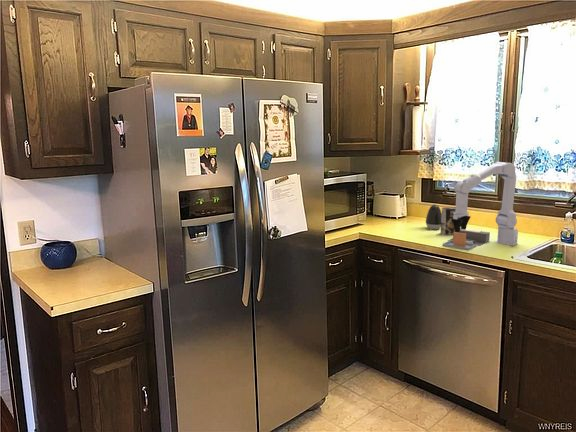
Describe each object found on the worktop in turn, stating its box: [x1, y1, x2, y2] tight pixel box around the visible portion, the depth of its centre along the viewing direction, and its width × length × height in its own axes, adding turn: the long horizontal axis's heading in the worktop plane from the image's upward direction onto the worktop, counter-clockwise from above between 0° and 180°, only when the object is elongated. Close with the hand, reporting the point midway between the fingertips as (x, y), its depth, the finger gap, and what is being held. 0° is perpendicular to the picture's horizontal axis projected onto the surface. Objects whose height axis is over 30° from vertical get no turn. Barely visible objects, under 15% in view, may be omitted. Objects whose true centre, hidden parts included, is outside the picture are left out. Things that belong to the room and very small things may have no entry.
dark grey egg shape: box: [425, 204, 442, 230], centre depth 287 cm, size 10×10×15 cm
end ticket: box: [452, 232, 466, 247], centre depth 243 cm, size 6×2×7 cm, turn 47°
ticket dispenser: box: [447, 228, 491, 247], centre depth 253 cm, size 18×13×6 cm
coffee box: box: [440, 206, 460, 236], centre depth 270 cm, size 9×6×16 cm
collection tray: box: [442, 239, 478, 251], centre depth 243 cm, size 14×10×2 cm
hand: (460, 230), depth 242 cm, fingers open, 7 cm apart
